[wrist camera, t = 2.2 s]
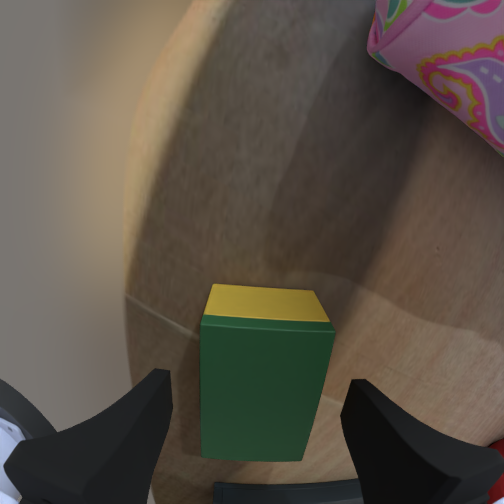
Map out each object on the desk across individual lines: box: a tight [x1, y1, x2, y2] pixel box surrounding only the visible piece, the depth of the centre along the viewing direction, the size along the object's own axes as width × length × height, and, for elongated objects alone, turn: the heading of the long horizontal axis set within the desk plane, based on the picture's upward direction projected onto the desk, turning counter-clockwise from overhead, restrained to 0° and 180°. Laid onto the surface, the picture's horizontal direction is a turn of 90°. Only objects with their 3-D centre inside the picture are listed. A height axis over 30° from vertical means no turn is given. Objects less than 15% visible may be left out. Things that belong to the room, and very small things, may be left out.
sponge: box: [200, 284, 336, 462], centre depth 13 cm, size 4×7×4 cm, turn 175°
